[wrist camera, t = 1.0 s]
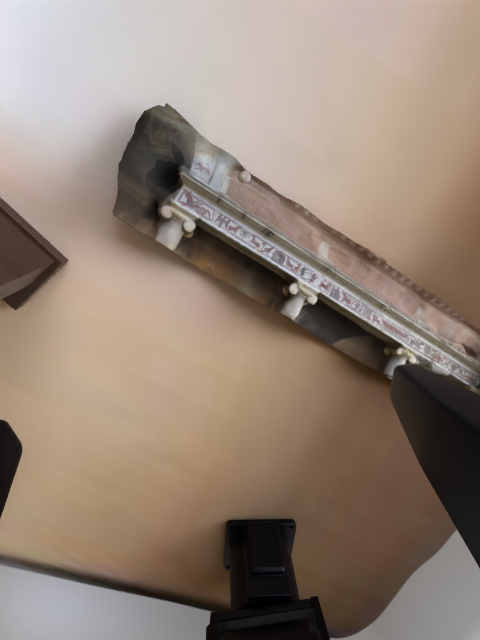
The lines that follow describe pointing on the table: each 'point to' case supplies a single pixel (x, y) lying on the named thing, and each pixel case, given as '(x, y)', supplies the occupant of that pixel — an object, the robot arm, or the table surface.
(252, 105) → the table surface
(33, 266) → the hook stand
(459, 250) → the table surface
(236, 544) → the robot arm
